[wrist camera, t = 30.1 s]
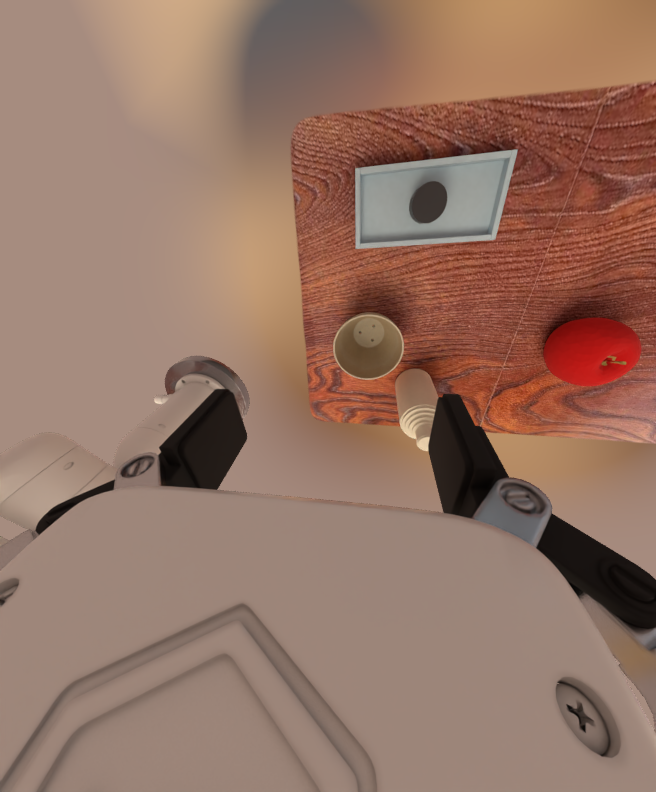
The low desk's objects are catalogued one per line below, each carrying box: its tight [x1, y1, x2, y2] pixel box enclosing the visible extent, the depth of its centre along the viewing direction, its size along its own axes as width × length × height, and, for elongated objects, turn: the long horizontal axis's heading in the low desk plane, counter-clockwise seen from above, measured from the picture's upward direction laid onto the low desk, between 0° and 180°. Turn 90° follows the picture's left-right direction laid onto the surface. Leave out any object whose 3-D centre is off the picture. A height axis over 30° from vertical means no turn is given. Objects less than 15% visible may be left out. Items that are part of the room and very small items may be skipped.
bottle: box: [395, 369, 438, 451], centre depth 40 cm, size 6×6×16 cm
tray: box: [355, 149, 518, 249], centre depth 31 cm, size 17×8×2 cm, turn 94°
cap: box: [409, 181, 447, 224], centre depth 30 cm, size 4×4×3 cm
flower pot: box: [333, 312, 404, 380], centre depth 39 cm, size 10×10×7 cm
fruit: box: [543, 318, 641, 386], centre depth 34 cm, size 9×9×10 cm
